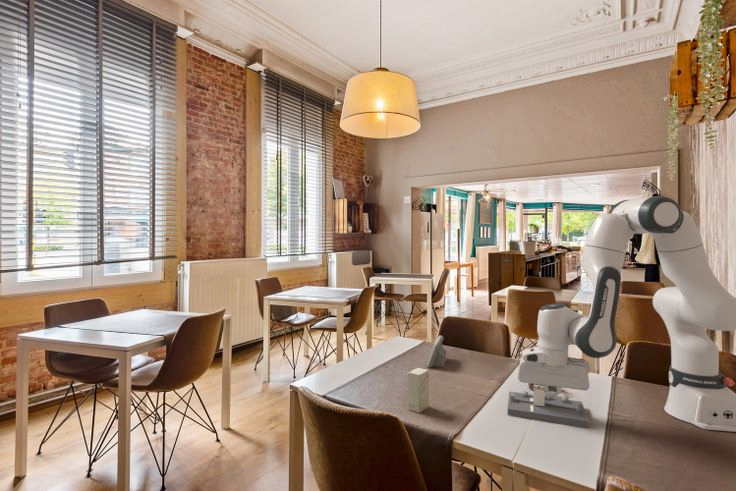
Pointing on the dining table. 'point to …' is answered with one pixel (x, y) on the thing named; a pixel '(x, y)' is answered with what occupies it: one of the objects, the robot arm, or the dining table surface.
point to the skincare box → (418, 389)
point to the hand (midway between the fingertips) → (552, 399)
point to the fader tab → (539, 395)
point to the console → (548, 409)
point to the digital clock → (437, 354)
